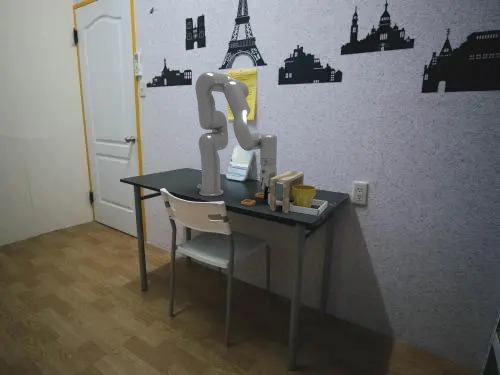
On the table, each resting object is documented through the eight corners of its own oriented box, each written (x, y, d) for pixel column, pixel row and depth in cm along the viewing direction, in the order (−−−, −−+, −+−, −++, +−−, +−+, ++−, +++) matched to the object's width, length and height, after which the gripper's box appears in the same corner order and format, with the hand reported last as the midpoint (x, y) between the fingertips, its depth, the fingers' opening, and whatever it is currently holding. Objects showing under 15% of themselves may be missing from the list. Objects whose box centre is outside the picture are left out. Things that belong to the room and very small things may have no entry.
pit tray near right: (241, 204, 139) (241, 201, 139) (246, 201, 143) (246, 198, 143) (250, 206, 137) (250, 203, 136) (255, 203, 141) (255, 200, 140)
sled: (263, 206, 136) (263, 196, 135) (276, 198, 148) (276, 189, 147) (318, 215, 124) (319, 204, 123) (327, 206, 137) (328, 196, 136)
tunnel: (269, 210, 131) (270, 178, 128) (287, 198, 149) (288, 170, 145) (286, 213, 128) (288, 180, 124) (302, 200, 145) (303, 172, 142)
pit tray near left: (254, 197, 151) (254, 194, 150) (259, 195, 155) (259, 192, 155) (263, 198, 149) (263, 195, 148) (268, 196, 153) (268, 193, 152)
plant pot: (299, 203, 141) (300, 183, 139) (318, 207, 135) (320, 186, 132) (286, 208, 134) (287, 187, 132) (307, 213, 127) (308, 191, 125)
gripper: (268, 164, 130) (267, 205, 134) (281, 160, 143) (280, 197, 147) (253, 163, 133) (253, 202, 138) (267, 158, 146) (266, 195, 151)
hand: (267, 199), depth 143 cm, fingers closed
